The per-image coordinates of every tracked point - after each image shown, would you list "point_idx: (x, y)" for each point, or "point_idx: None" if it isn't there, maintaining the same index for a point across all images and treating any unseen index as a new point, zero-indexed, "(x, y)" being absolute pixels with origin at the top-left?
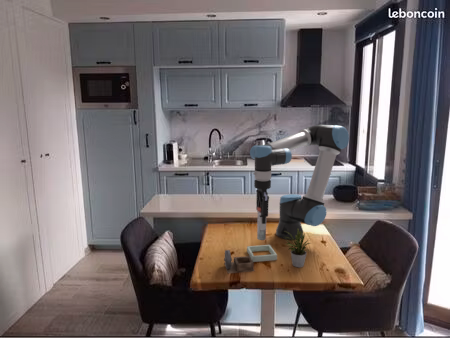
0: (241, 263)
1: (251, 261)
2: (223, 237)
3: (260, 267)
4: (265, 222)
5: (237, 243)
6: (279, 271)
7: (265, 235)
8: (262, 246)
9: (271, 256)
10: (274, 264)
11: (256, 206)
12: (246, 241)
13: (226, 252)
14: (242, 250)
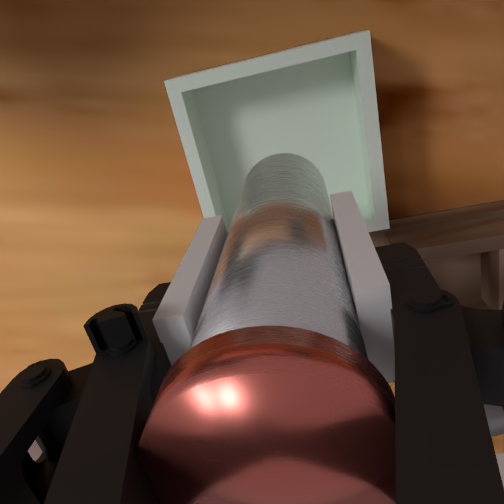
0: (501, 305)
1: (484, 244)
2: (7, 356)
3: (418, 159)
4: (418, 253)
5: (74, 285)
6: (499, 23)
7: (303, 167)
8: (196, 145)
9: (372, 81)
10: (383, 53)
11: (36, 496)
12: (28, 231)
13: (500, 433)
14: (172, 259)
